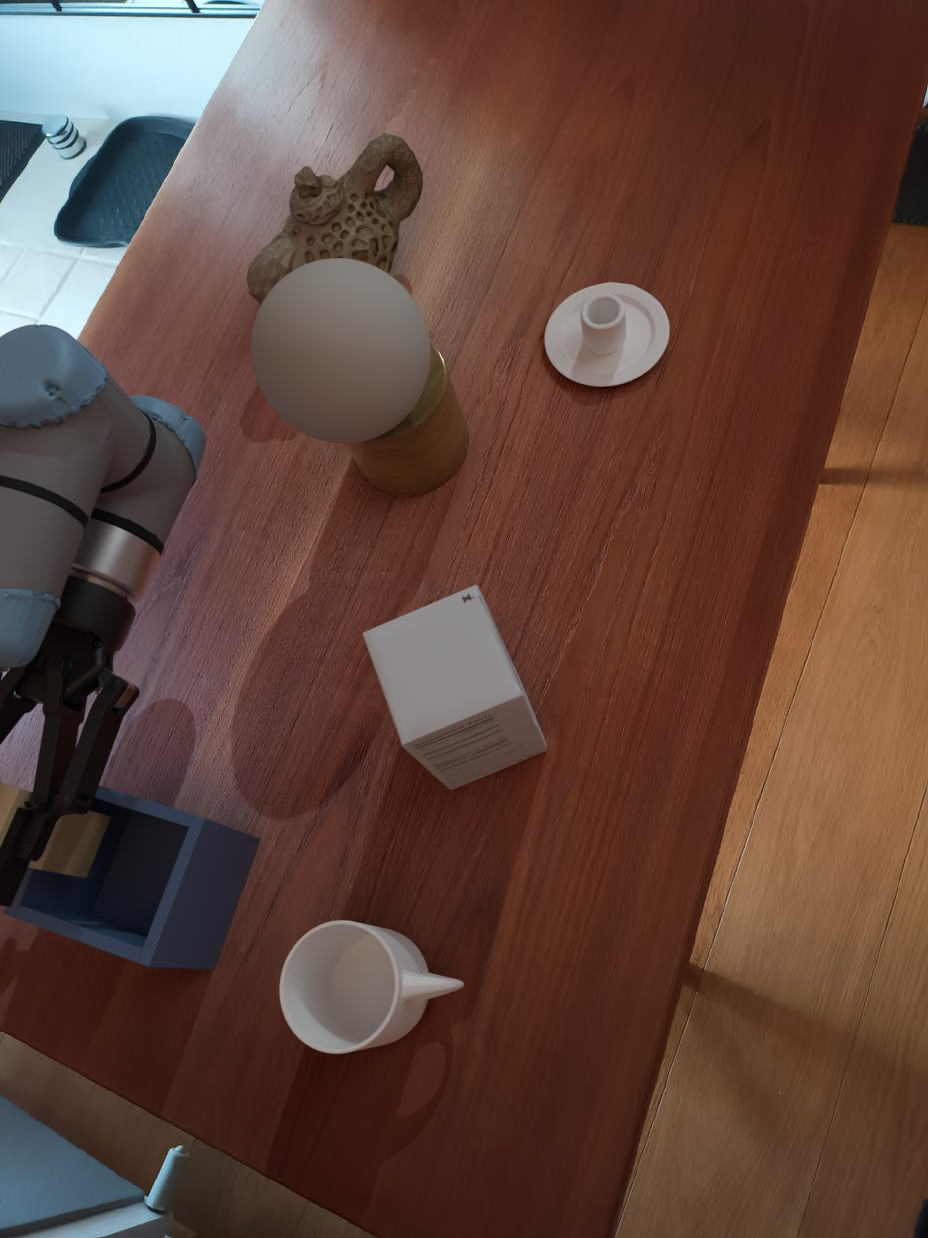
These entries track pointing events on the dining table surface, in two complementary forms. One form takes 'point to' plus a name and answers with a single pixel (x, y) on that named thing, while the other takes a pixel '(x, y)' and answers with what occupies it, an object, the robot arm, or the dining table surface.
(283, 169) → the dining table surface
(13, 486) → the robot arm
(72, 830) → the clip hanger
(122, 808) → the blue bin
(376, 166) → the teapot
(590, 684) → the dining table surface
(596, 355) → the candle holder
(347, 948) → the mug
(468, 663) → the supplement box
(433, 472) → the lamp
